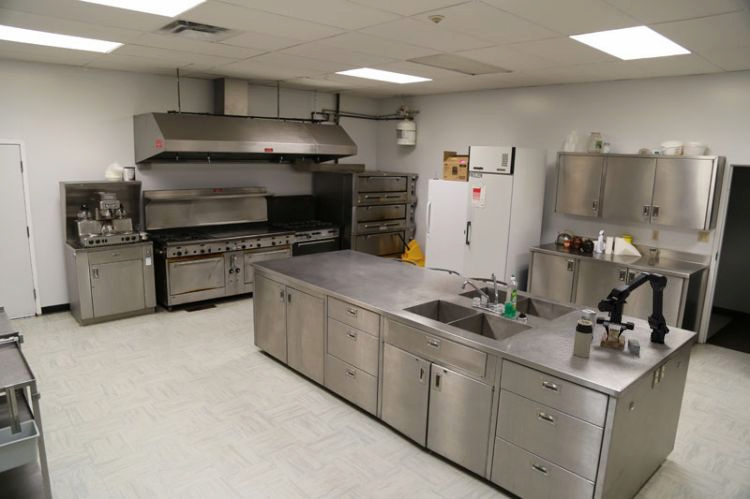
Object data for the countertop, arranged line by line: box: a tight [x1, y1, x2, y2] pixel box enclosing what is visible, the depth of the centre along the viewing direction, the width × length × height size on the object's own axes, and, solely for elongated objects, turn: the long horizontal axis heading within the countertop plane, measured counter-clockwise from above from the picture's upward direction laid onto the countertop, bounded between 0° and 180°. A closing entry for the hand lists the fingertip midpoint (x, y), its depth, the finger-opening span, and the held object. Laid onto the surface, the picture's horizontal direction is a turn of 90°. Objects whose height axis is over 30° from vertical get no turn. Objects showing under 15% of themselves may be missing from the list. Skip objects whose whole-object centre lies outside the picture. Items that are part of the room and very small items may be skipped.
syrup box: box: [580, 309, 597, 337], centre depth 283 cm, size 6×6×14 cm
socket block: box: [599, 331, 626, 352], centre depth 273 cm, size 11×17×3 cm, turn 149°
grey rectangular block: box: [626, 338, 641, 356], centre depth 263 cm, size 4×9×5 cm, turn 161°
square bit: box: [608, 327, 620, 342], centre depth 270 cm, size 4×4×6 cm
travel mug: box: [572, 319, 593, 359], centre depth 254 cm, size 8×8×18 cm
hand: (613, 338), depth 270 cm, fingers closed on square bit, 4 cm apart
